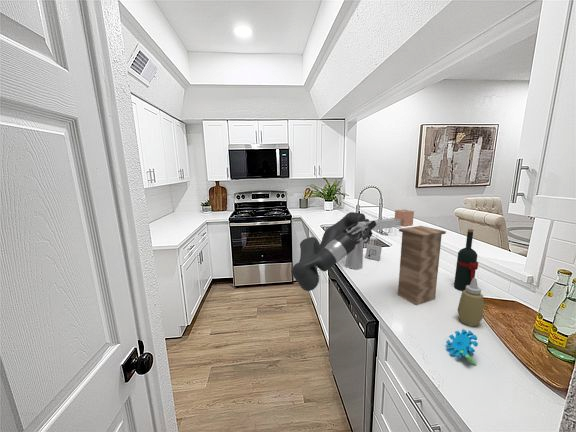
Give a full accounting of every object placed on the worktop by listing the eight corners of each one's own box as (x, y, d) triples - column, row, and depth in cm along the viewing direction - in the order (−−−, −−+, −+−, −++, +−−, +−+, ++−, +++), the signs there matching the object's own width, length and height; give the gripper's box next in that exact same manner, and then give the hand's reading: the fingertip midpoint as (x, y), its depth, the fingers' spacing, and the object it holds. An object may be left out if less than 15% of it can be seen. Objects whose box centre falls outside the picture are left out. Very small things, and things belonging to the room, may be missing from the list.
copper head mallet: (364, 232, 93) (365, 216, 92) (355, 229, 98) (356, 214, 97) (414, 225, 104) (415, 211, 102) (404, 222, 108) (405, 209, 107)
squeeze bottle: (474, 331, 92) (481, 285, 88) (451, 319, 99) (456, 276, 95) (486, 324, 95) (492, 280, 92) (463, 313, 102) (468, 272, 99)
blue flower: (441, 335, 87) (469, 323, 82) (453, 347, 87) (482, 336, 82) (449, 362, 77) (480, 350, 72) (462, 376, 77) (495, 364, 72)
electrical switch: (365, 258, 166) (366, 244, 165) (368, 256, 170) (369, 243, 169) (379, 261, 160) (380, 247, 159) (381, 259, 164) (383, 246, 163)
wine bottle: (464, 294, 117) (472, 232, 111) (450, 284, 127) (456, 227, 121) (481, 294, 117) (489, 232, 111) (465, 284, 127) (472, 227, 121)
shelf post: (416, 307, 108) (422, 235, 101) (394, 294, 118) (399, 229, 112) (438, 299, 113) (445, 231, 107) (415, 288, 124) (421, 225, 118)
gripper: (346, 245, 85) (381, 216, 89) (324, 235, 98) (356, 210, 102) (355, 261, 88) (388, 233, 92) (332, 250, 101) (363, 225, 105)
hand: (371, 221), depth 97 cm, fingers closed on copper head mallet, 3 cm apart
